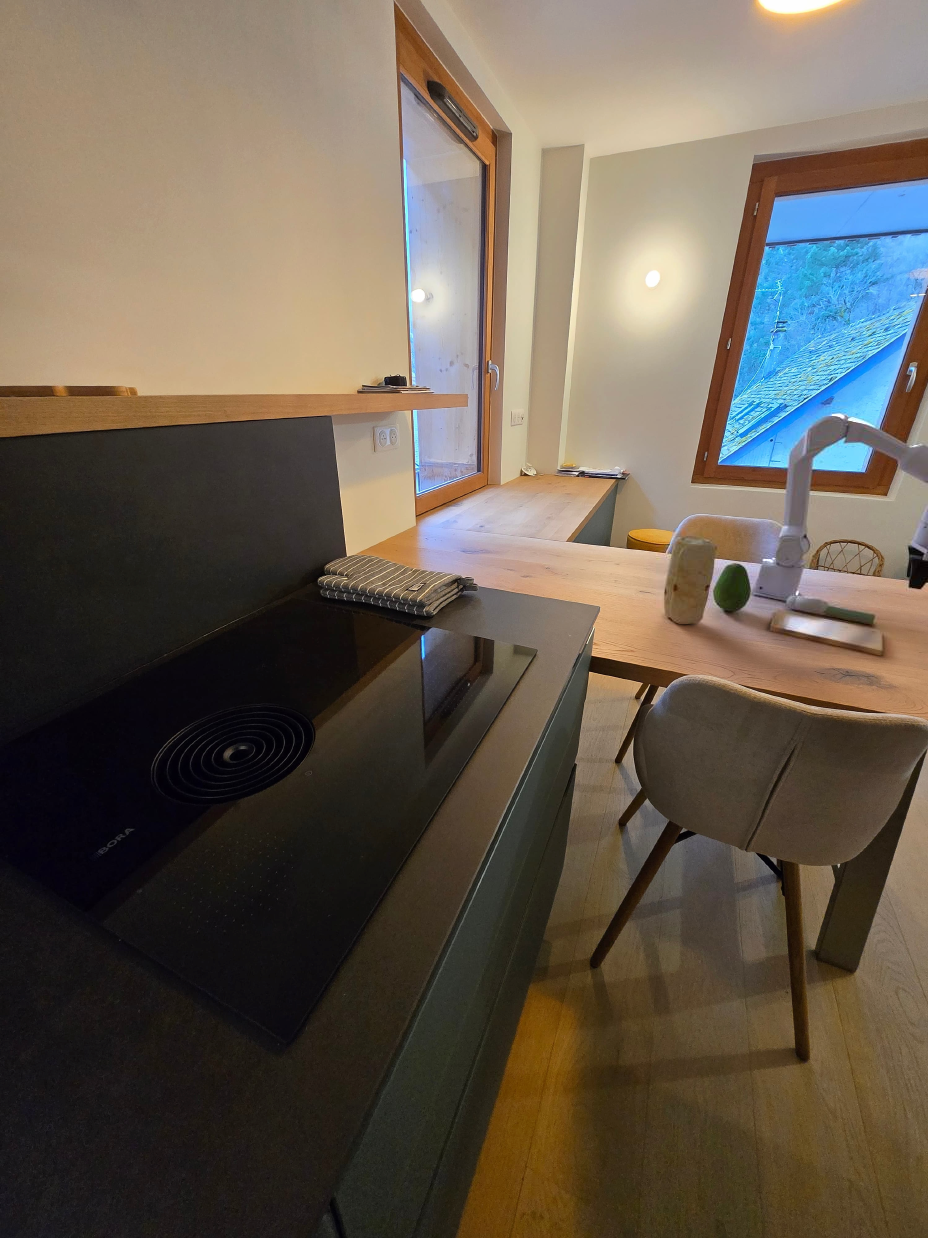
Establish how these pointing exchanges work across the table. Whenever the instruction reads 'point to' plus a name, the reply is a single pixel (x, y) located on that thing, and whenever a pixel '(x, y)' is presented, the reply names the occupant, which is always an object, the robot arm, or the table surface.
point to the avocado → (732, 588)
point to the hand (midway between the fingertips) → (913, 582)
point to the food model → (689, 579)
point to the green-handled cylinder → (828, 609)
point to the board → (828, 631)
